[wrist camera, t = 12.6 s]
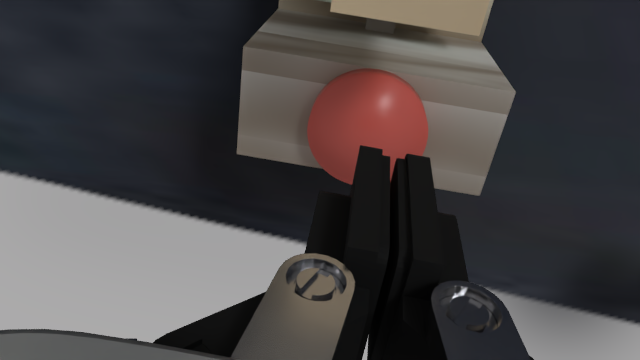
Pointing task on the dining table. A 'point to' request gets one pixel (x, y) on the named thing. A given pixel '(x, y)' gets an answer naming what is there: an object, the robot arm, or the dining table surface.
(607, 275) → the dining table surface
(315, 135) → the button
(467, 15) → the carriage
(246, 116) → the rail base
